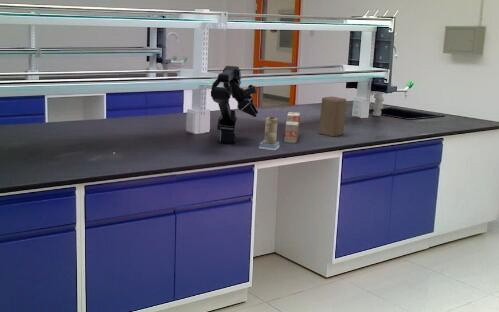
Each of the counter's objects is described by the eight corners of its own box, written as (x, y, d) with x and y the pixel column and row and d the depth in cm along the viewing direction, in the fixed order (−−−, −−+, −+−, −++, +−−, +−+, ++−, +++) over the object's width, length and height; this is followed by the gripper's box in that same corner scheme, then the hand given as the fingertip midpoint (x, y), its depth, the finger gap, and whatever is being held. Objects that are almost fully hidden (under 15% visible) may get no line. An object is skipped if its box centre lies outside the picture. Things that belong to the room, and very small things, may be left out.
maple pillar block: (263, 145, 265) (265, 117, 262) (266, 144, 269) (268, 115, 266) (273, 147, 264) (275, 118, 261) (275, 145, 268) (277, 116, 265)
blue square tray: (258, 148, 264) (259, 143, 263) (263, 145, 271) (263, 140, 271) (275, 150, 262) (275, 145, 261) (279, 147, 269) (279, 142, 268)
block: (317, 133, 306) (321, 97, 302) (328, 131, 314) (332, 96, 309) (333, 137, 300) (336, 99, 295) (343, 135, 307) (347, 98, 302)
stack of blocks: (296, 143, 280) (298, 119, 277) (284, 142, 281) (285, 118, 278) (298, 135, 301) (300, 112, 298) (286, 134, 301) (288, 111, 298)
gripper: (246, 81, 260) (268, 107, 262) (249, 77, 279) (270, 101, 280) (228, 97, 263) (250, 122, 265) (232, 92, 281) (253, 115, 283)
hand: (256, 114), depth 273 cm, fingers open, 9 cm apart
